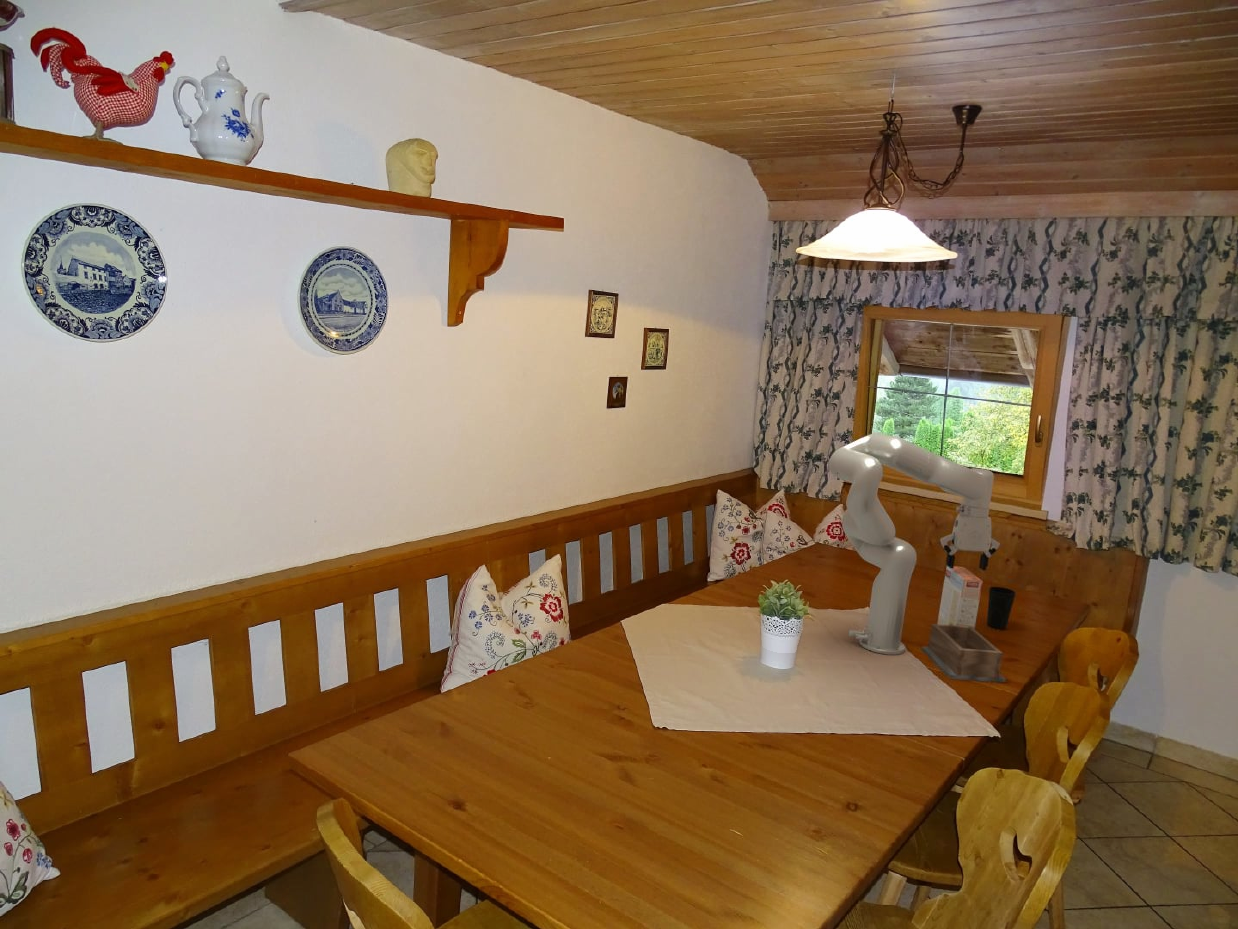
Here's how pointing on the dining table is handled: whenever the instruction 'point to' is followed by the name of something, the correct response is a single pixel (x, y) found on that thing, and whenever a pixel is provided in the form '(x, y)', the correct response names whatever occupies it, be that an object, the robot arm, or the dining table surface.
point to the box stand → (964, 653)
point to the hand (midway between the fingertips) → (966, 568)
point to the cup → (999, 607)
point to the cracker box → (959, 598)
